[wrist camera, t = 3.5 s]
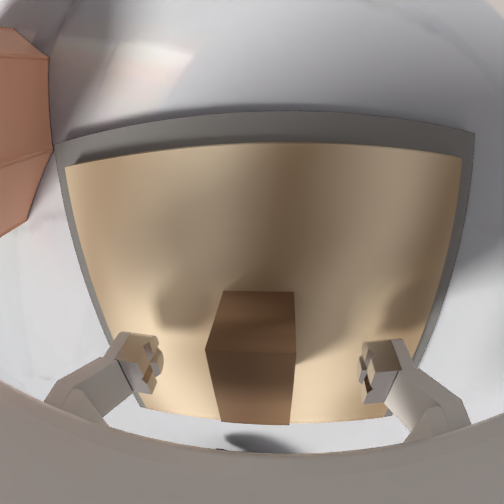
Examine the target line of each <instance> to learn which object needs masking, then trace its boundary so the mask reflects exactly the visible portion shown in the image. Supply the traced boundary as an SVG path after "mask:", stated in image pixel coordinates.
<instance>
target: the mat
mask: <svg viewBox="0 0 504 504" xmlns="http://www.w3.org/2000/svg"><path fill="white" fill-rule="evenodd" d="M474 140H475V133H472V132H468V131H463V130H459V129H455V128H450V127H445V126H441V125H436V124H430V123H425V122H419V121H413V120H406V119H399V118H392V117H384V116H375V115H365V114H354V113H340V112H321V111H255V112H235V113H221V114H209V115H199V116H190V117H182V118H174V119H167V120H161V121H154V122H148V123H142V124H137V125H131V126H126V127H121V128H116V129H112V130H107V131H103V132H99V133H94V134H90V135H86V136H82V137H79V138H75V139H71V140H68V141H64V142H61V143H57V144H54V148H55V156H56V163H57V170H58V176H59V182H60V187H61V192H62V198H63V202H64V207H65V212H66V216H67V220H68V225H69V229H70V233H71V237H72V240H73V244H74V248H75V251H76V255H77V258H78V261H79V265H80V268H81V271H82V274H83V277H84V280H85V283H86V286H87V289H88V292H89V295H90V298H91V301H92V303H93V306H94V309H95V311H96V314H97V316H98V319H99V321H100V324H101V326H102V329H103V331H104V334H105V336H106V338H107V341H108V343H109V345H110V346H111V344H112V343H113V341H114V340H113V337H112V335H111V332H110V330H109V327H108V325H107V322H106V320H105V317H104V315H103V312H102V309H101V306H100V304H99V301H98V298H97V295H96V292H95V289H94V286H93V283H92V280H91V277H90V274H89V271H88V267H87V264H86V261H85V257H84V254H83V250H82V247H81V243H80V239H79V235H78V231H77V227H76V223H75V219H74V214H73V210H72V205H71V200H70V195H69V190H68V184H67V178H66V172H65V167H67V166H70V165H73V164H77V163H82V162H87V161H92V160H97V159H102V158H108V157H114V156H120V155H126V154H133V153H139V152H147V151H154V150H162V149H171V148H181V147H191V146H203V145H216V144H233V143H259V142H316V143H342V144H358V145H372V146H383V147H393V148H402V149H411V150H419V151H426V152H433V153H439V154H446V155H451V156H455V157H458V158H461V159H462V166H461V176H460V184H459V192H458V199H457V205H456V212H455V217H454V223H453V228H452V233H451V238H450V242H449V247H448V251H447V255H446V259H445V263H444V267H443V271H442V275H441V278H440V282H439V285H438V288H437V292H436V295H435V298H434V301H433V304H432V307H431V310H430V313H429V316H428V319H427V322H426V325H425V327H424V330H423V333H422V335H421V338H420V341H419V343H418V346H417V348H416V350H415V353H414V355H413V358H412V361H413V364H414V366H415V368H417V366H418V364H419V362H420V360H421V358H422V355H423V353H424V351H425V348H426V346H427V344H428V341H429V339H430V336H431V334H432V331H433V329H434V326H435V324H436V321H437V318H438V315H439V313H440V310H441V307H442V304H443V301H444V298H445V295H446V292H447V289H448V286H449V282H450V279H451V276H452V272H453V269H454V265H455V261H456V257H457V253H458V249H459V245H460V241H461V236H462V232H463V227H464V222H465V216H466V211H467V205H468V199H469V192H470V185H471V176H472V167H473V155H474ZM133 394H134V396H135V398H136V400H137V402H138V403H139V405H140V407H143V408H146V406H145V405H144V403H143V401H142V399H141V397H140V395H139V393H138V392H133ZM392 414H393V413H392V412H391V410H390V409H389V408H388V410H387V411H386V413H385V415H384V417H386V416H392Z"/></svg>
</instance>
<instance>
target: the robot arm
mask: <svg viewBox="0 0 504 504" xmlns="http://www.w3.org/2000/svg"><path fill="white" fill-rule="evenodd" d="M158 345H159V341H158V338H157V337H156V336H154V335H147V334H140V333H132V332H126V331H121V332H119V334H118V335H117V337H116V338H115V340H114V341H113V343H112V344H111V346H110V347H109V349H108V351H107V352H106V354H105V355H104V357H99V358H97V359H96V360H94V361H92V362H90V363H89V364H87V365H85V366H83V367H81V368H80V369H78V370H76V371H74V372H72V373H71V374H69V375H67V376H65V377H64V378H62V379H60V380H58V381H57V382H56V384H55V385H54V387H53V388H52V390H51V391H50V393H49V394H48V396H47V397H46V399H45V400H44V402H43V401H40V400H38V399H36V398H34V397H32V396H30V395H28V394H26V393H24V392H22V391H20V390H18V389H16V388H14V387H12V386H10V385H9V384H7V383H5V382H3V381H1V380H0V504H504V413H501V414H499V415H496V416H494V417H491V418H489V419H486V420H483V421H481V422H478V423H475V424H472V425H471V422H470V420H469V417H468V414H467V412H466V409H465V407H464V405H463V402H462V400H461V399H460V398H459V397H457V396H456V395H455V394H453V393H452V392H451V391H449V390H448V389H446V388H445V387H444V386H442V385H441V384H440V383H438V382H437V381H436V380H434V379H433V378H431V377H430V376H429V375H427V374H426V373H425V372H423V371H422V370H421V369H419V368H418V369H416V368H415V366H414V364H413V361H412V359H411V356H410V354H409V352H408V349H407V347H406V345H405V342H404V340H403V339H402V338H399V339H389V340H377V341H364V343H363V345H362V348H361V350H362V355H361V356H360V357H359V359H358V363H357V377H358V381H359V382H360V383H361V384H362V386H361V389H360V392H361V397H362V402H363V404H371V403H383V402H384V404H385V405H386V406H387V407H388V408H389V409H390V410H391V412H392V413H393V414H394V415H395V416H396V417H397V418H398V419H399V420H400V421H401V422H402V423H403V425H404V426H405V427H406V428H407V429H408V430H409V431H410V432H411V433H410V434H409V436H408V437H407V438H406V439H405V441H404V442H403V443H400V444H395V445H389V446H383V447H376V448H369V449H361V450H352V451H342V452H328V453H306V454H274V453H251V452H237V451H227V450H217V449H209V448H202V447H195V446H189V445H183V444H177V443H172V442H167V441H162V440H158V439H153V438H149V437H145V436H141V435H137V434H133V433H129V432H125V431H122V430H118V429H115V428H112V427H109V426H108V424H107V423H106V422H105V420H104V419H103V417H104V416H105V415H106V414H107V413H109V412H110V411H111V410H112V409H114V408H115V407H116V406H117V405H119V404H120V403H121V402H122V401H123V400H125V399H126V398H127V397H128V396H129V395H131V394H132V393H133V392H139V393H145V394H151V395H152V393H153V391H154V389H155V386H156V384H157V380H156V378H155V377H157V376H158V375H160V374H161V372H162V369H163V364H164V357H163V353H162V351H161V350H160V349H159V348H158Z"/></svg>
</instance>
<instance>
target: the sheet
mask: <svg viewBox="0 0 504 504" xmlns="http://www.w3.org/2000/svg"><path fill="white" fill-rule="evenodd" d="M461 166H462V159H461V158H458V157H455V156H451V155H446V154H439V153H433V152H426V151H419V150H411V149H402V148H393V147H383V146H372V145H358V144H342V143H316V142H259V143H233V144H216V145H203V146H191V147H181V148H171V149H162V150H154V151H147V152H139V153H133V154H126V155H120V156H114V157H108V158H102V159H97V160H92V161H87V162H82V163H77V164H73V165H70V166H67V167H65V172H66V178H67V184H68V190H69V195H70V200H71V205H72V210H73V214H74V219H75V223H76V227H77V231H78V235H79V239H80V243H81V247H82V250H83V254H84V257H85V261H86V264H87V267H88V271H89V274H90V277H91V280H92V283H93V286H94V289H95V292H96V295H97V298H98V301H99V304H100V306H101V309H102V312H103V315H104V317H105V320H106V322H107V325H108V327H109V330H110V332H111V335H112V337H113V340H115V338H116V337H117V335H118V334H119V332H121V331H126V332H132V333H140V334H147V335H154V336H156V337H157V338H158V341H159V345H158V348H159V349H160V350H161V351H162V353H163V357H164V364H163V369H162V372H161V374H160V375H158V376H157V377H155V378H156V380H157V384H156V386H155V389H154V391H153V393H152V395H151V394H145V393H139V392H138V393H139V395H140V397H141V399H142V401H143V403H144V405H145V406H146V408H147V409H151V410H156V411H162V412H167V413H173V414H179V415H186V416H193V417H200V418H208V419H217V420H221V422H230V423H243V424H262V425H289V423H325V422H341V421H354V420H364V419H373V418H381V417H384V415H385V413H386V411H387V410H388V407H387V406H386V405H385V404H384V402H383V403H371V404H363V402H362V397H361V392H360V389H361V386H362V384H361V383H360V382H359V381H358V377H357V363H358V359H359V357H360V356H361V355H362V350H361V348H362V345H363V343H364V341H377V340H389V339H399V338H402V339H403V340H404V342H405V345H406V347H407V349H408V352H409V354H410V356H411V359H412V358H413V355H414V353H415V350H416V348H417V346H418V343H419V341H420V338H421V335H422V333H423V330H424V327H425V325H426V322H427V319H428V316H429V313H430V310H431V307H432V304H433V301H434V298H435V295H436V292H437V288H438V285H439V282H440V278H441V275H442V271H443V267H444V263H445V259H446V255H447V251H448V247H449V242H450V238H451V233H452V228H453V223H454V217H455V212H456V205H457V199H458V192H459V184H460V176H461Z"/></svg>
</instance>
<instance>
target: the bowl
mask: <svg viewBox="0 0 504 504" xmlns="http://www.w3.org/2000/svg"><path fill="white" fill-rule="evenodd" d="M48 61H49V56H46V55H44V54H43V53H42V52H41V51H40V50H38V49H37V48H36V47H35V46H33V45H32V44H31V43H30V42H28V41H27V40H26V39H25V38H23V37H22V36H21V35H20V34H18V33H17V32H16V31H15V30H14V28H4V27H0V237H2V236H4V235H5V234H7V233H8V232H10V231H11V230H13V229H15V228H16V227H18V226H20V225H21V224H23V223H25V222H26V221H27V216H28V213H29V210H30V207H31V204H32V201H33V198H34V195H35V192H36V190H37V187H38V184H39V182H40V179H41V176H42V174H43V171H44V169H45V167H46V164H47V162H48V160H49V157H50V155H51V153H52V152H53V147H52V138H51V128H50V115H49V95H48Z"/></svg>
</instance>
